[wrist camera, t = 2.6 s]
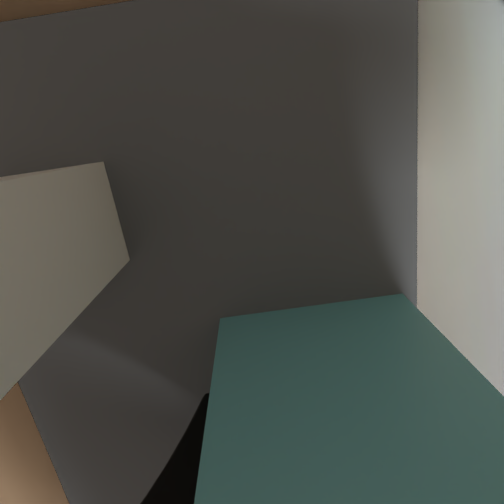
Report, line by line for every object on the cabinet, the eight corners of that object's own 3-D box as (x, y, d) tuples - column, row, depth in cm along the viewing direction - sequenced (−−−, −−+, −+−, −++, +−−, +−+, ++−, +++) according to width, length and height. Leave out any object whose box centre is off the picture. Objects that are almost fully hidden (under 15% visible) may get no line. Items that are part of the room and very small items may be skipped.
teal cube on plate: (403, 436, 12) (587, 789, 5) (246, 455, 12) (247, 820, 6) (402, 293, 10) (664, 560, 4) (220, 318, 10) (178, 615, 4)
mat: (412, 470, 12) (415, 477, 12) (79, 510, 13) (75, 518, 13) (412, -40, 8) (418, -47, 8) (-113, 45, 8) (-127, 42, 8)
